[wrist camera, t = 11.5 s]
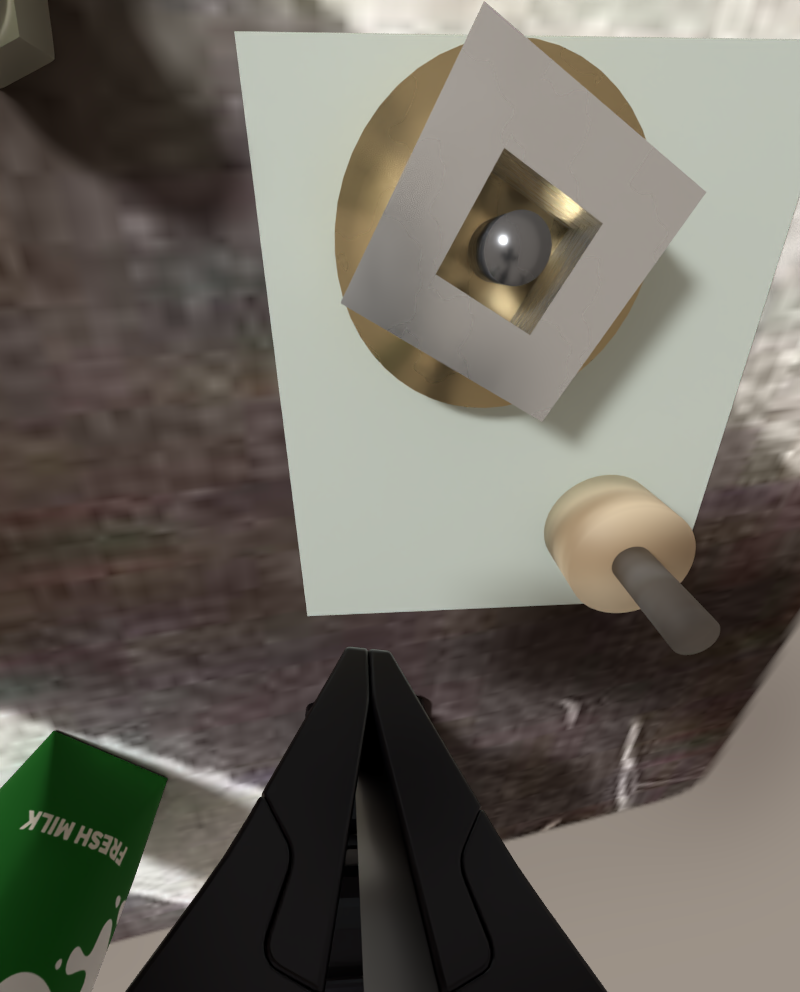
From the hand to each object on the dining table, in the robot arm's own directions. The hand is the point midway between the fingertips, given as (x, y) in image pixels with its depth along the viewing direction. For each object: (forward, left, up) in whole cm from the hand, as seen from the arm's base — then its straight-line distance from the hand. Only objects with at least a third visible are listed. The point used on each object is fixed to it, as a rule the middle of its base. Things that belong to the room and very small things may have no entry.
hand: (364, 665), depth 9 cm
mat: (+2, -6, -12) cm, 13 cm away
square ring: (+7, -4, -10) cm, 13 cm away
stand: (-4, -10, -11) cm, 16 cm away
